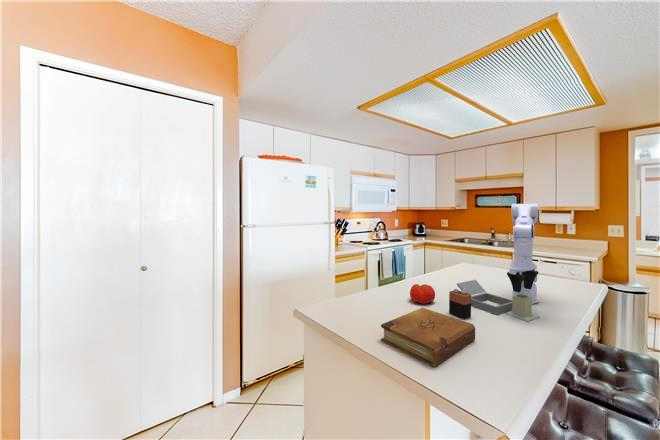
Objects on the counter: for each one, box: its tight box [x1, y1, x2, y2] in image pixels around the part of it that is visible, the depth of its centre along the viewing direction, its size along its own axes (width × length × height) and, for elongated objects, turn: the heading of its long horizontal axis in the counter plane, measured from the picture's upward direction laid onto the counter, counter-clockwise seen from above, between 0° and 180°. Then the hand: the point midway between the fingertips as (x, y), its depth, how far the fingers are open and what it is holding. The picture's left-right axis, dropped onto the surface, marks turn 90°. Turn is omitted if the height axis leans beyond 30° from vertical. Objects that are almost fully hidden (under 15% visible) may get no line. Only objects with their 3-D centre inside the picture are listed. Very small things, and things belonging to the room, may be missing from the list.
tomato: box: [409, 283, 436, 305], centre depth 118 cm, size 11×11×8 cm
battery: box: [448, 288, 472, 320], centre depth 102 cm, size 4×7×10 cm, turn 28°
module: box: [511, 294, 533, 318], centre depth 102 cm, size 4×4×8 cm
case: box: [456, 279, 512, 316], centre depth 114 cm, size 14×18×8 cm
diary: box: [380, 307, 476, 368], centre depth 83 cm, size 23×19×6 cm
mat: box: [505, 310, 541, 322], centre depth 102 cm, size 8×8×1 cm
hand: (522, 290), depth 102 cm, fingers open, 7 cm apart
